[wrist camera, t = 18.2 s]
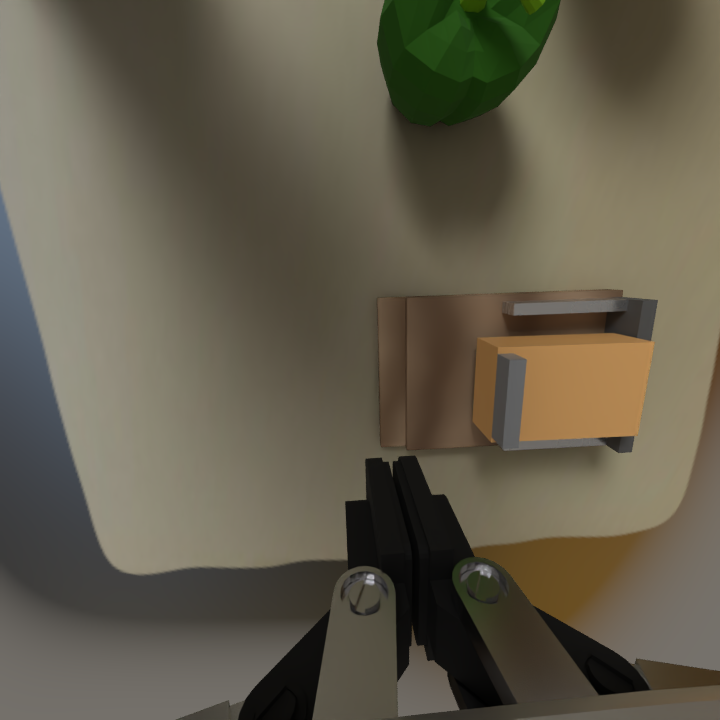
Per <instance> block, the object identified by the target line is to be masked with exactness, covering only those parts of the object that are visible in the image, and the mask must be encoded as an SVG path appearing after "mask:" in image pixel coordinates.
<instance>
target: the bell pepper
mask: <svg viewBox="0 0 720 720" xmlns="http://www.w3.org/2000/svg"><path fill="white" fill-rule="evenodd" d="M560 1H561V0H385V1H384V5H383V9H382V13H381V17H380V25H379V32H378V40H377V46H378V51H379V57H380V63H381V67H382V71H383V74H384V78H385V81H386V84H387V87H388V91H389V94H390V97H391V100H392V103H393V105H394V106H395V107H396V108H397V109H398V110H399V111H400V112H401V113H402V114H403V115H404V116H405V117H406V118H407V119H408V120H409V121H410V122H411V123H415V124H420V125H426V126H432V125H433V124H435V123H437V122H439V121H441V122H443V123H445V124H446V125H448V126H450V125H453V124H457V123H460V122H463V121H466V120H469V119H472V118H474V117H477V116H480V115H482V114H484V113H486V112H488V111H490V110H492V109H494V108H496V107H498V106H499V105H500V104H501V103H502V102H503V101H504V100H505V99H506V98H507V97H508V96H509V95H510V93H511V92H512V91H513V90H514V89H515V88H516V87H517V86H518V85H519V84H520V82H521V81H522V80H523V79H524V78H525V76H526V75H527V74H528V73H529V72H530V71H531V69H532V68H533V67H534V66H535V65H536V63H537V61H538V58H539V56H540V54H541V52H542V50H543V47H544V45H545V43H546V41H547V39H548V36H549V34H550V32H551V30H552V28H553V25H554V23H555V21H556V18H557V14H558V10H559V5H560Z"/></svg>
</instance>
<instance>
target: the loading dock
mask: <svg viewBox="0 0 720 720" xmlns="http://www.w3.org/2000/svg"><path fill="white" fill-rule="evenodd" d="M622 295H623V290H611V289H603V290H576V291H549V292H522V293H495V294H468V295H441V296H413V297H386V298H377V310H378V359H379V408H380V444H381V447H391V446H406V448H407V450H420V449H438V448H456V447H474V446H492V445H498V444H497V442H494V443H491V442H490V441H489V440H488V439H487V437H486V436H485V435H484V434H483V433H482V432H481V431H480V429H479V428H478V427H477V426H476V425H475V424H474V423H473V422H472V419H473V408H472V402H473V399H474V385H475V368H476V357H475V350H476V347H477V338H480V337H510V336H540V335H569V334H593V333H616V334H621V335H625V336H630V337H634V338H639V339H643V340H648V341H651V337H652V331H653V325H654V319H655V314H656V308H657V302H658V300H650V299H639V298H627V297H622ZM633 441H634V436H622V437H600V438H579V439H558V440H537V441H519V448H513V449H502V448H501V449H502V450H503V451H510V450H527V449H545V448H563V447H581V446H599V445H607V446H609V447H610V448H612V449H613V450H615V451H616V452H618V453H625V452H632V447H633Z"/></svg>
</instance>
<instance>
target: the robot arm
mask: <svg viewBox="0 0 720 720" xmlns="http://www.w3.org/2000/svg"><path fill="white" fill-rule="evenodd" d="M365 466H366V499H367V500H358V501H345V505H346V528H347V552H348V571H347V572H346V573H344V574H343V575H342V576H341V577H340V579H339V580H338V581H337V583H336V586H335V589H334V594H333V599H332V605H331V609H330V610H329V611H328V612H327V613H326V614H325V615H324V616H323V617H322V618H321V619H320V620H319V621H318V623H316V625H315V626H314V627H313V628H312V629H311V630H310V631H309V632H308V633H307V634H306V635H305V636H304V637H303V638H302V639H301V640H300V641H299V642H298V643H297V644H296V645H295V646H294V647H293V648H292V649H291V650H290V651H289V652H288V653H287V655H286V656H284V658H283V659H282V660H281V661H280V662H279V663H278V664H277V665H276V666H275V667H274V668H273V669H272V670H271V671H270V672H269V673H268V674H267V675H266V676H265V677H264V678H263V679H262V680H261V681H260V682H259V683H258V684H257V685H256V686H255V688H254V689H253V690H252V691H251V693H250V694H249V695H248V697H247V698H246V700H245V701H242V702H239V703H236V704H234V705H231V706H230V705H229V700H228V701H225V702H222V703H220V704H217V705H214V706H212V707H209V708H206V709H203V710H201V711H198V712H196V713H193V714H190V715H187V716H185V717H182V718H179V719H176V720H720V671H717V670H709V669H703V668H697V667H689V666H683V665H676V664H670V663H663V662H656V661H650V660H643V659H636V661H635V664H630V663H629V662H628V661H627V660H626V659H624V658H623V657H621V656H620V655H618V654H617V653H615V652H614V651H612V650H611V649H609V648H607V647H605V646H604V645H602V644H600V643H598V642H597V641H595V640H593V639H591V638H589V637H588V636H586V635H584V634H582V633H581V632H579V631H577V630H575V629H573V628H572V627H570V626H568V625H567V624H565V623H563V622H561V621H559V620H558V619H556V618H554V617H552V616H551V615H549V614H547V613H545V612H544V611H542V610H540V609H538V608H536V607H535V606H533V605H532V604H531V603H530V601H529V600H528V599H527V597H526V596H525V594H524V593H523V592H522V590H521V589H520V588H519V586H518V585H517V584H516V582H515V581H514V580H513V578H512V577H511V576H510V574H509V573H508V572H507V571H506V570H505V569H504V568H502V567H501V566H500V565H498V564H497V563H495V562H493V561H491V560H488V559H485V558H480V557H475V556H474V554H473V552H472V550H471V548H470V546H469V544H468V541H467V539H466V537H465V535H464V533H463V531H462V529H461V527H460V524H459V522H458V520H457V518H456V516H455V514H454V512H453V510H452V508H451V505H450V503H449V501H448V499H447V497H446V496H445V495H444V494H442V495H432V494H431V492H430V489H429V487H428V485H427V482H426V480H425V477H424V475H423V473H422V470H421V468H420V465H419V463H418V460H417V458H416V456H401V457H399V458H398V461H393V477H392V473H391V469H390V466H389V462H383V461H382V458H370V459H366V460H365ZM412 626H413V630H414V635H415V640H416V643H417V645H418V646H419V645H424V647H425V652H426V656H427V660H428V661H430V660H435V662H436V663H437V664H438V665H440V666H441V667H442V668H443V669H445V670H446V671H447V676H448V680H449V684H450V687H451V690H452V692H453V695H454V697H455V700H456V702H457V705H458V707H459V710H457V711H448V712H439V713H430V714H420V715H411V716H403V717H398V706H397V705H398V702H397V682H398V680H399V679H400V677H401V676H402V674H403V673H404V671H405V670H406V668H407V667H408V665H409V646H411V637H412V635H411V634H412V632H411V631H412Z"/></svg>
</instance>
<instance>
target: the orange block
mask: <svg viewBox="0 0 720 720" xmlns="http://www.w3.org/2000/svg"><path fill="white" fill-rule="evenodd" d="M654 344H655V342H653V341H648V340H643V339H639V338H634V337H630V336H625V335H621V334H616V333H593V334H569V335H540V336H510V337H480V338H477V347H476V350H475V357H476V368H475V385H474V399H473V402H472V408H473V419H472V422H473V423H474V424H475V425H476V426H477V427H478V428H479V429H480V431H481V432H482V433H483V434H484V435H485V436H486V437H487V439H488V440H489V441H490V442H491V443H494V442H497V444H498V445H499V446H500V447H501V448H502V449H513V448H519V441H537V440H558V439H579V438H600V437H622V436H638V431H639V425H640V420H641V414H642V409H643V403H644V398H645V393H646V387H647V382H648V376H649V371H650V365H651V360H652V354H653V349H654Z"/></svg>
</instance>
